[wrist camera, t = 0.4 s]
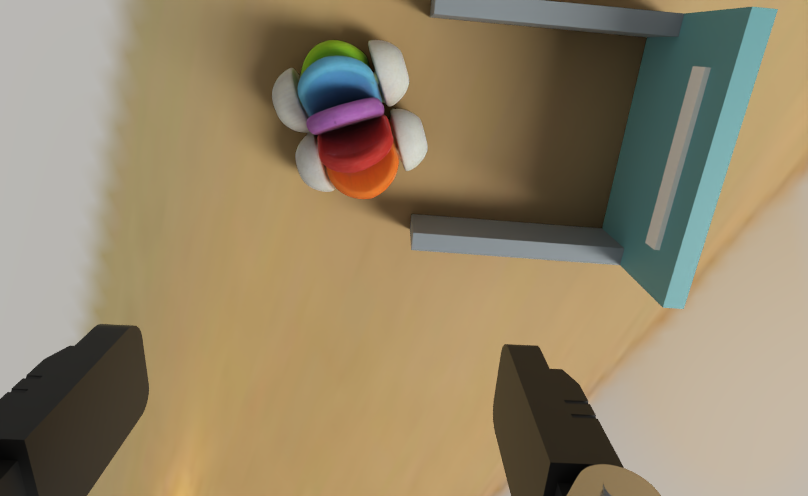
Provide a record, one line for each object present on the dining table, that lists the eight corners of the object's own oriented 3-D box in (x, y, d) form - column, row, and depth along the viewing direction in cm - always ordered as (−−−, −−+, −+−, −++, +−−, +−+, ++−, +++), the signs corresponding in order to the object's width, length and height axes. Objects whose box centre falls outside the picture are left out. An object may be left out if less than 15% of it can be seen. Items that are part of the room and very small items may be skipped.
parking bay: (431, -4, 32) (446, -23, 23) (670, 18, 33) (777, 9, 24) (410, 229, 38) (414, 290, 29) (614, 244, 39) (683, 308, 29)
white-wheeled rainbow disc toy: (318, 199, 37) (301, 233, 30) (268, 60, 34) (236, 65, 27) (433, 166, 36) (441, 194, 30) (393, 21, 33) (393, 15, 26)
